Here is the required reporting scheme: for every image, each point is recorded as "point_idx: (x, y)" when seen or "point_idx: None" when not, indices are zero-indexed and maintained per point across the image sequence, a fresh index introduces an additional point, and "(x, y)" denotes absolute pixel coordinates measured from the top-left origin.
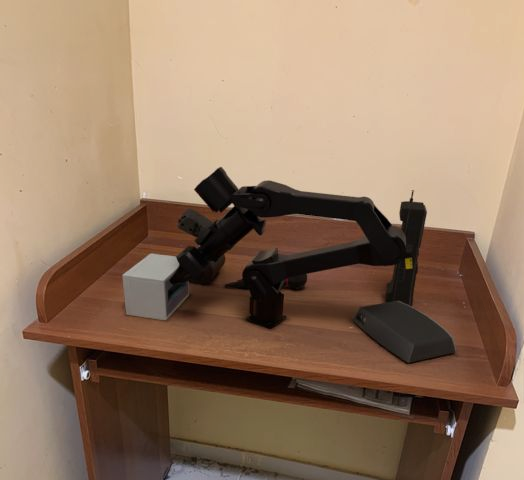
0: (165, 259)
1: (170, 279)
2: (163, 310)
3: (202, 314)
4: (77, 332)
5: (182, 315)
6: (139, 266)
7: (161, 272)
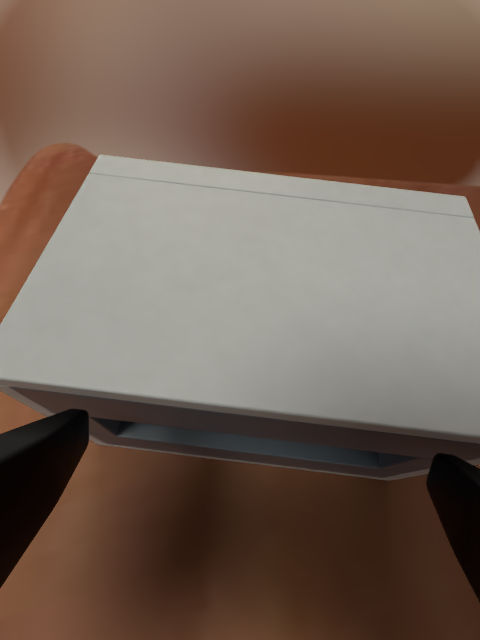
0: (420, 285)
1: (52, 417)
2: None
3: (180, 637)
4: (26, 215)
5: (158, 510)
6: (240, 190)
7: (158, 318)
